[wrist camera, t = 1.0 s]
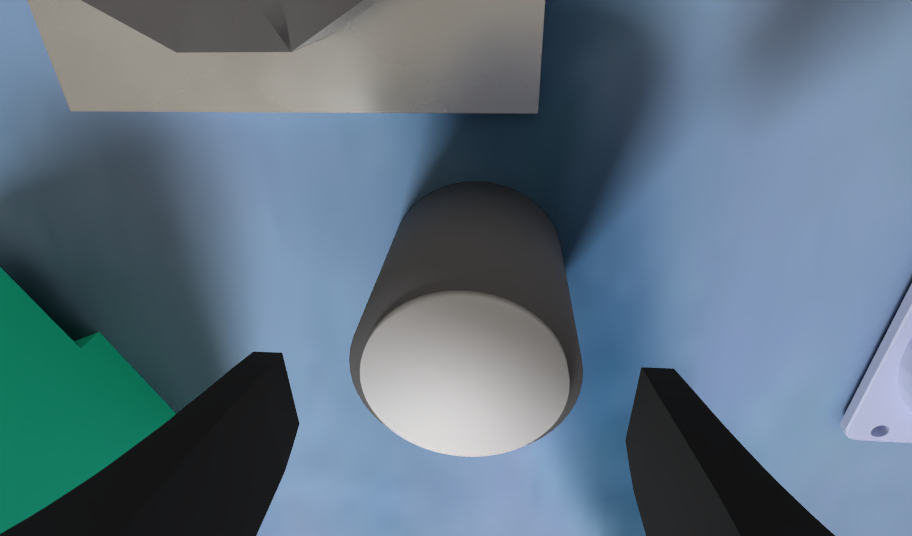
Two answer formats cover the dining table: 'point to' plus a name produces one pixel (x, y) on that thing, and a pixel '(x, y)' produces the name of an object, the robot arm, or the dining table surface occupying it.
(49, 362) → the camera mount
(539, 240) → the gray cylindrical peg
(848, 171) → the dining table surface
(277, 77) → the white square plate
